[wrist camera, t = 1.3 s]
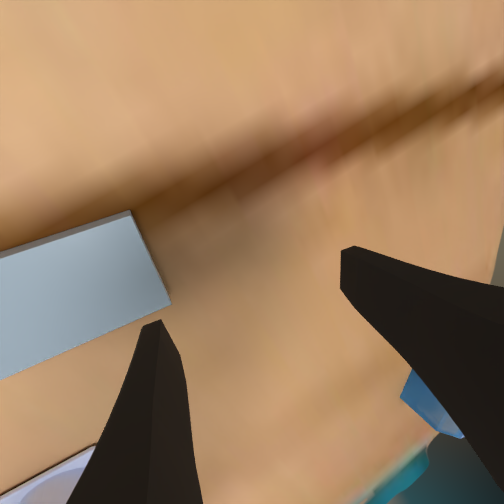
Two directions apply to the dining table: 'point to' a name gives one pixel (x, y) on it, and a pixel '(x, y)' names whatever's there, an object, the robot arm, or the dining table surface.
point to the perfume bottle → (428, 406)
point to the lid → (74, 290)
